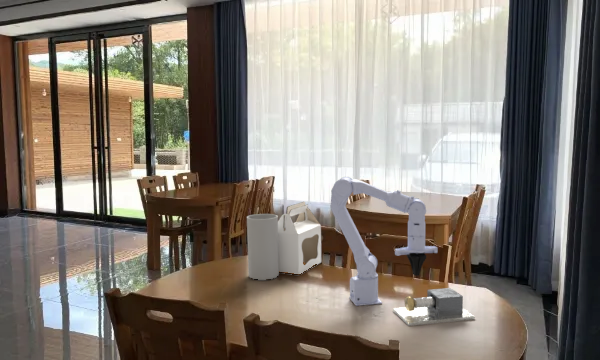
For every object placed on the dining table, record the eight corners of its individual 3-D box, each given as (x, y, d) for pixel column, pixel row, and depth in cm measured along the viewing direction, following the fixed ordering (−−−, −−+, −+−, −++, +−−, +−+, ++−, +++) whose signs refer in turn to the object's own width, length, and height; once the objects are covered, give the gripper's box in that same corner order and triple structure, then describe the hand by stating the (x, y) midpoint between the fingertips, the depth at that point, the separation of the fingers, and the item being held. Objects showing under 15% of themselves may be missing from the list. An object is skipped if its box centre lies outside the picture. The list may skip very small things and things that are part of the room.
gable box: (298, 275, 194) (297, 208, 191) (271, 271, 200) (269, 206, 197) (321, 262, 213) (320, 201, 210) (296, 259, 219) (295, 199, 216)
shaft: (410, 313, 146) (410, 299, 145) (404, 308, 150) (404, 294, 150) (453, 309, 149) (453, 295, 148) (446, 304, 153) (447, 291, 153)
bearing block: (408, 325, 142) (408, 303, 141) (393, 311, 154) (393, 290, 153) (474, 319, 146) (475, 297, 145) (454, 305, 158) (455, 285, 157)
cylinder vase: (278, 280, 187) (276, 219, 185) (246, 281, 188) (244, 219, 185) (279, 271, 200) (278, 213, 197) (250, 272, 200) (248, 214, 197)
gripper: (401, 239, 152) (400, 279, 153) (442, 236, 155) (441, 276, 156) (392, 234, 159) (392, 273, 160) (432, 232, 162) (431, 270, 163)
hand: (416, 274), depth 159 cm, fingers closed
